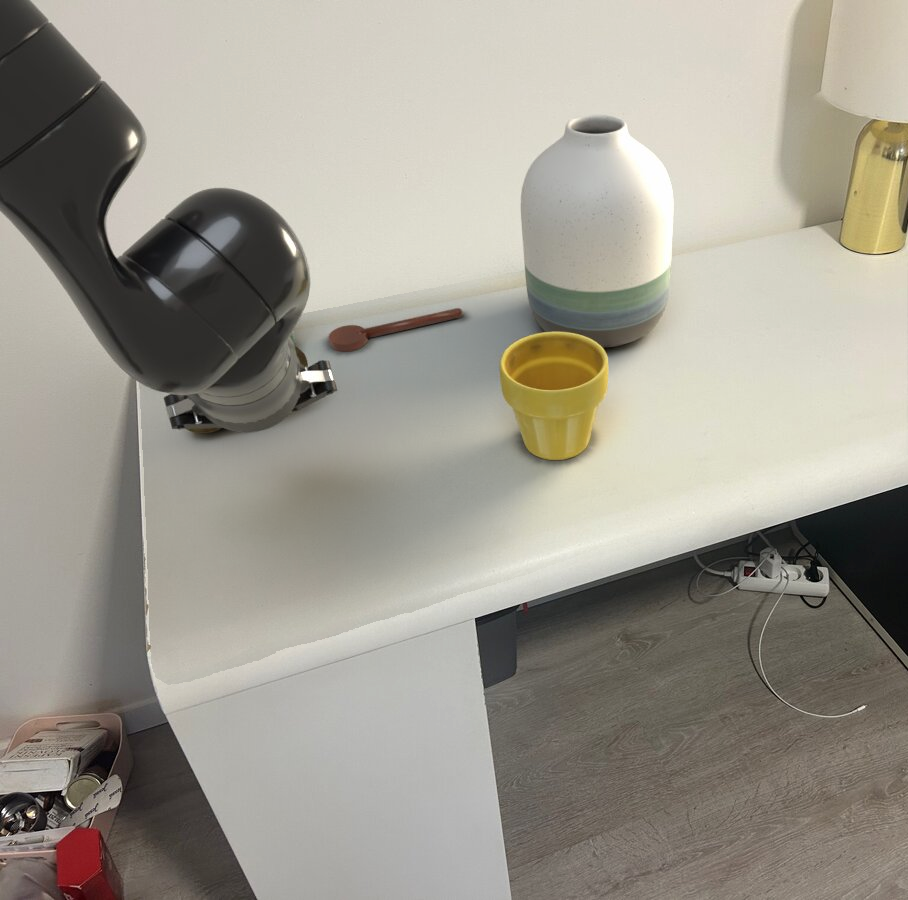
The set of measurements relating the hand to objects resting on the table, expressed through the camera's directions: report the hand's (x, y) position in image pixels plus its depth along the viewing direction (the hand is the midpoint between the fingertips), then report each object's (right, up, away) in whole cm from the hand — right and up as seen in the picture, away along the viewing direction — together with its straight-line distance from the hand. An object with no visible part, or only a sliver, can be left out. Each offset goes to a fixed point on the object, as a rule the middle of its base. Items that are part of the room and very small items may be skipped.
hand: (262, 414), depth 74 cm
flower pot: (+25, -2, +12) cm, 28 cm away
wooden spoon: (+5, +11, +29) cm, 31 cm away
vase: (+29, +12, +29) cm, 43 cm away
